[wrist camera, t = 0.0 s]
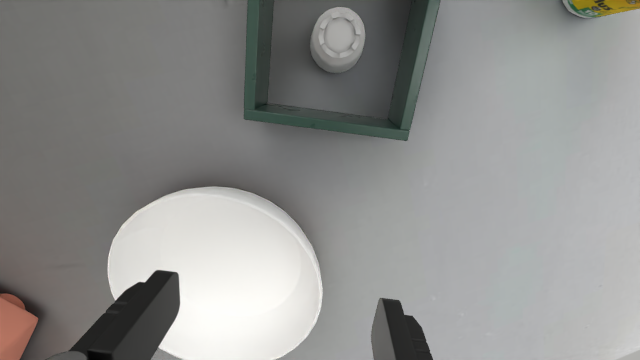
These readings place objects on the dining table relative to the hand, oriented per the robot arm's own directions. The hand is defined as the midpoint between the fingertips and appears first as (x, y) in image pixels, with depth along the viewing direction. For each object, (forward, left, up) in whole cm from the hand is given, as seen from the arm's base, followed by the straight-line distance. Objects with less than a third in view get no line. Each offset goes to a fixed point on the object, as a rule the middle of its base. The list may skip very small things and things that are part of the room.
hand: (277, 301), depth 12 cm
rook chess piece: (-11, +1, -18) cm, 21 cm away
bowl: (+11, -7, -18) cm, 23 cm away
